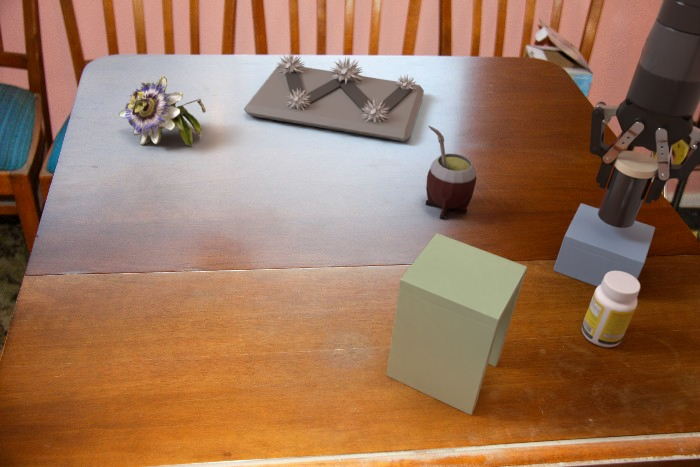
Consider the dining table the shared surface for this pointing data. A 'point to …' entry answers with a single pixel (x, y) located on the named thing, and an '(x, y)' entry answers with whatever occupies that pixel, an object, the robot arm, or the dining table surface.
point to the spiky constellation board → (338, 100)
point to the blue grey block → (601, 247)
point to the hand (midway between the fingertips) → (625, 192)
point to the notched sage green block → (452, 320)
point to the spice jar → (627, 188)
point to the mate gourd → (450, 181)
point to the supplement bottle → (611, 309)
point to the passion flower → (159, 113)
